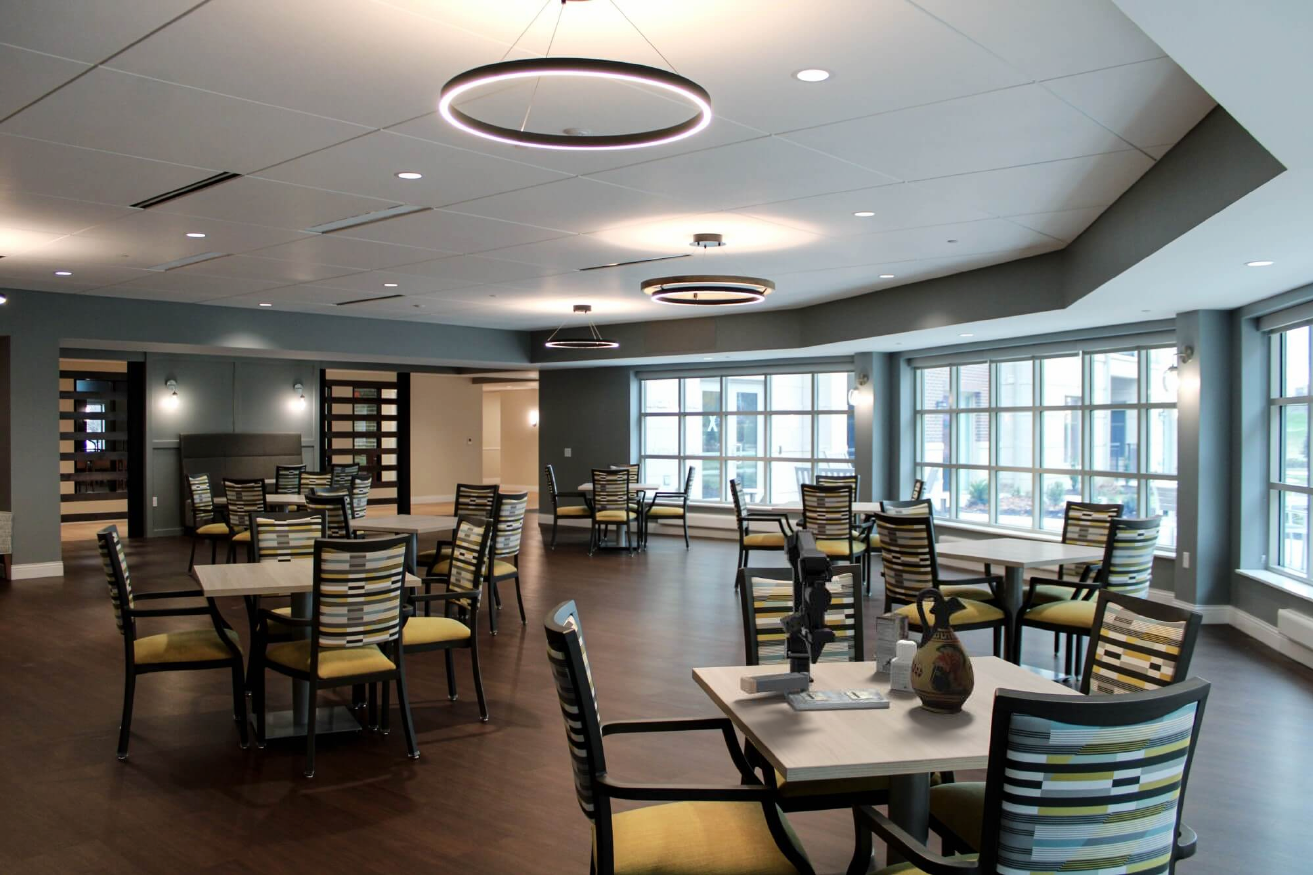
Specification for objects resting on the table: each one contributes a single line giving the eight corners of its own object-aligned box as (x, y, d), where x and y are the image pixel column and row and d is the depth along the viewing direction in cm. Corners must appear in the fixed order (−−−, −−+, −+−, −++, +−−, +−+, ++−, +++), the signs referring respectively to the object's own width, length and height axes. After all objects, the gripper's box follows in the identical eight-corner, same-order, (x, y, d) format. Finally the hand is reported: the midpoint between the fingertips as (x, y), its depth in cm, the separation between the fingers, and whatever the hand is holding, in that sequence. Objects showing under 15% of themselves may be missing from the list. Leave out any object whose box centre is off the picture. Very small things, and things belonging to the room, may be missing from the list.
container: (898, 682, 266) (898, 636, 266) (926, 686, 262) (926, 639, 262) (890, 689, 259) (890, 640, 259) (918, 692, 255) (918, 644, 255)
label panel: (784, 697, 250) (784, 690, 250) (873, 694, 253) (873, 688, 253) (796, 710, 239) (796, 702, 239) (889, 707, 241) (889, 700, 241)
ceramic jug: (972, 702, 246) (972, 585, 246) (975, 719, 231) (975, 595, 231) (904, 697, 251) (904, 583, 251) (903, 713, 236) (903, 591, 236)
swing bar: (803, 690, 257) (803, 670, 257) (813, 695, 252) (813, 674, 252) (740, 696, 250) (740, 676, 250) (749, 701, 245) (749, 680, 245)
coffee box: (889, 665, 286) (889, 611, 287) (909, 668, 282) (909, 614, 282) (875, 671, 279) (875, 615, 279) (895, 674, 275) (895, 618, 275)
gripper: (774, 597, 254) (773, 656, 254) (792, 609, 235) (792, 673, 235) (815, 596, 255) (814, 655, 255) (836, 608, 236) (836, 672, 236)
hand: (813, 663), depth 245 cm, fingers closed
